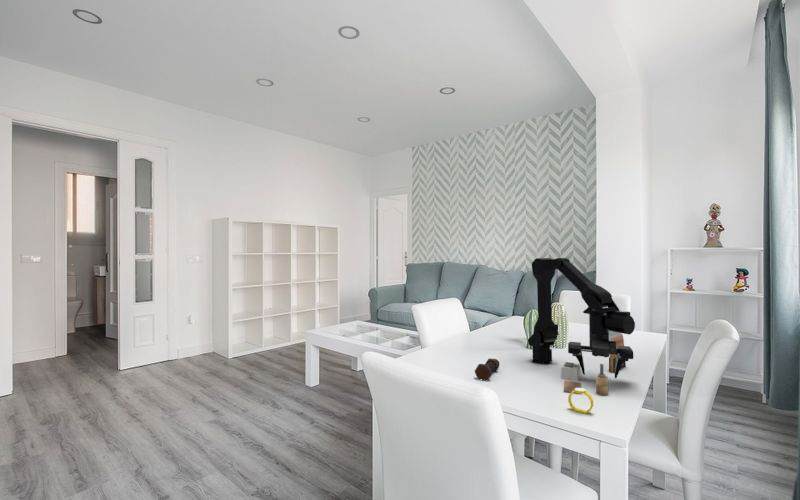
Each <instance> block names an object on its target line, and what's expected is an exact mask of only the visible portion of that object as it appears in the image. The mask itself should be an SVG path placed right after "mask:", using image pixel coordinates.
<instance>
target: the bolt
mask: <svg viewBox="0 0 800 500" xmlns="http://www.w3.org/2000/svg"><path fill="white" fill-rule="evenodd" d="M500 366H501V365H500V361H499V360H498V359H496V358H488V359H487V360H486V362H485V363H484V364H483V363H478V364H477V366H476V368H475V370H474V374H475V376H476V377H477V379H478V380H480V379H482V380H481V381H486V380H488V381H489V379H490V378H491V376H492V374H493V373H497V371H498V369H499V368H500Z"/></svg>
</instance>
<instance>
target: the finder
mask: <svg viewBox="0 0 800 500" xmlns="http://www.w3.org/2000/svg"><path fill="white" fill-rule="evenodd" d="M581 372H582V369H581V366H580V363H576V362H575V363H574V362H569V361H564V362H563V364H562V365H561V367H560V379H562V380H566V381H572V382H579V379H580V377H581V375H582V373H581Z"/></svg>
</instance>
